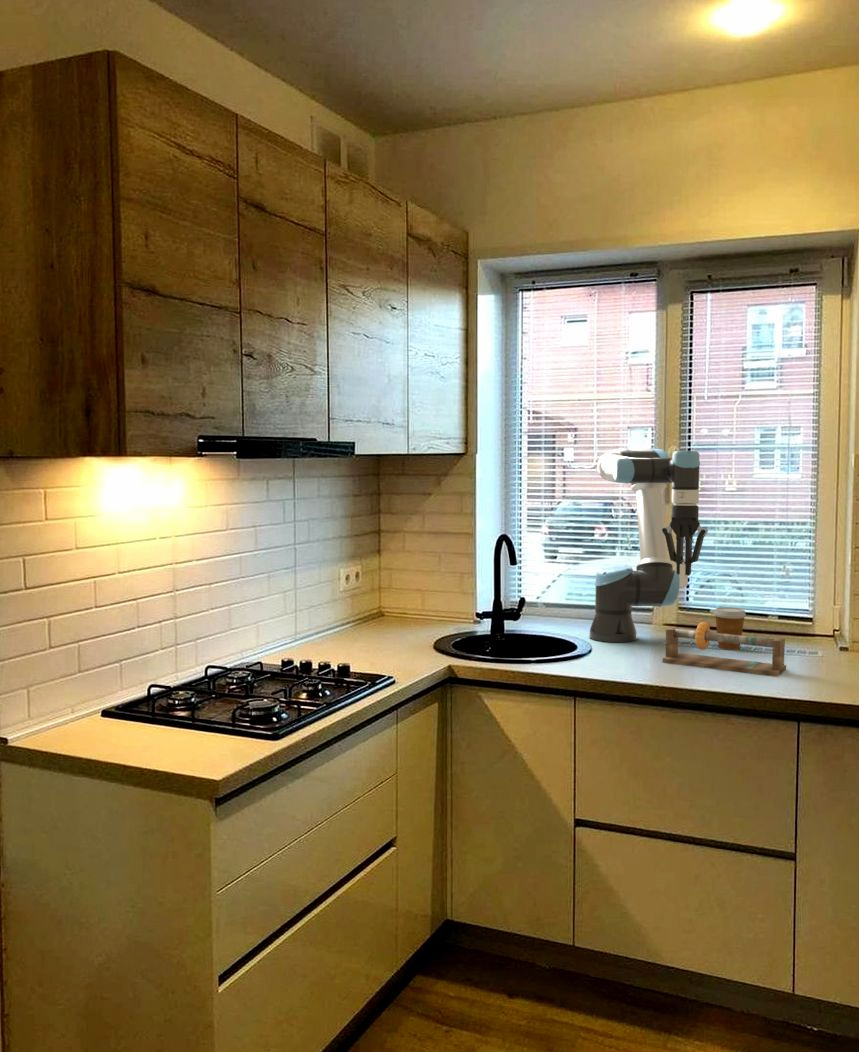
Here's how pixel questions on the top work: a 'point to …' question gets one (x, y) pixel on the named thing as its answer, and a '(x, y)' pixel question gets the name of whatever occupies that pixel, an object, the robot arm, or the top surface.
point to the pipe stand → (726, 663)
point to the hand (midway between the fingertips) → (683, 585)
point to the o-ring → (702, 635)
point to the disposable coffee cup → (729, 624)
